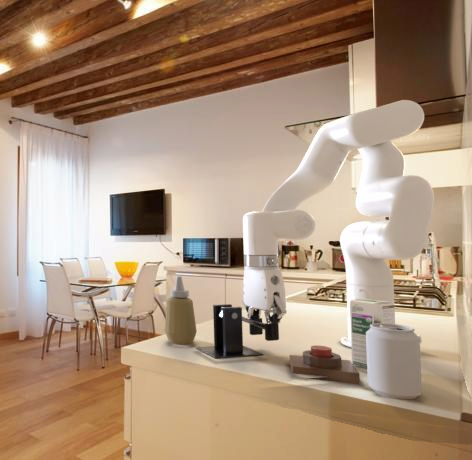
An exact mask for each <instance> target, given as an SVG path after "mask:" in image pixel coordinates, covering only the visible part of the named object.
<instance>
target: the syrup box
mask: <svg viewBox="0 0 472 460" xmlns="http://www.w3.org/2000/svg"><path fill="white" fill-rule="evenodd" d="M395 308H396V304H395V301H394V302H386V301H377V300H368V299H354V300H351V301H350V318H351V345H352V348H351V363H352V364H353V365H354V366H356V367H361V368H364V369H367V351H366V332H367V331H368V330H369V329H370V328H371V327H370V324H374V323H388V324H396V309H395Z"/></svg>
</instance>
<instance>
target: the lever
mask: <svg viewBox="0 0 472 460" xmlns="http://www.w3.org/2000/svg"><path fill="white" fill-rule="evenodd" d="M222 308H223V307H222V306H221V309H220V312H219V315H218V316H220V317H223V314H222ZM242 322H243V323H247V324H248V325H249V324H252V325H255V327H258V328H261V329H263V331H265V323H266V322H265V323H264V322H262V323H261V322H258V321H253V320H251V319H250V318H248V317H245V316H242Z"/></svg>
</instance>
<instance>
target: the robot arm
mask: <svg viewBox="0 0 472 460" xmlns="http://www.w3.org/2000/svg"><path fill="white" fill-rule="evenodd" d="M424 121H425V112H424V109H423V108H422V106H421V105H420V104H419V103H418V102H415V101H413V100H409V99H401V100H398V101H397V100H396V101H394V102H391V103H388V104H384V105H380V106H377V107H373V108H369V109H366V110H361V111H358V112H354V113H351V114H348V115H345V116H343V117H340V118H337V119H334V120H331V121H328V122H327V123H325V124H323V125H322V126H321V127H320V128H319V129H318V131H317V132H316V134H315V135H314V137H313V140H312V141H311V143H310V145H309V147H308V148H307V150H306V152H305V154H304V156H303V158H302V160H301V162H300V163H299V165H298V166H297V169H296V170H295V171H294V172H293V173H292V174H291V175H290V176H289V177H288V178H286V180H285V181H284V182H283V183H282V184H280V186H279V187H278V188H276V190H275V191H274V192H272V194H271V195H270V197H269V198H268V199H267V201H266V202H265V205H264V206H263V208H262V210H261V211H250V212H247V213H245V214H243V217H242V236H243V237H242V238H243V242H242V243H243V265H244V269H243V270H244V271H243V283H242V296H243V297H242V298H243V299H242V301H241V304H242V306H243V307H244V308H245V311H246V313H247V318H248V319H251V320H253V321H258V322H261V323H263V318H262V317H261V315H262V311H263V312H264V318H265V330H264V329H261V328H258V327H255V325H252V324H249V323H248V326H249V329H248V330H249V335H250V336H260V335H263V333H264V339H265V341H267V342H268V341H269V342H272V341H279V340H280V330H279V329H280V327H279V324H281V320H282V318H283V317H284V316H285V315H286V314H287V298H286V290H285V282H284V276H283V273H282V269H281V268H280V266H279V265H280V262H279V261H280V260H279V241H280V242H283V241H284V242H297V241H303V240H305V239H308V238H309V237H311V236H312V235H313V233H314V232H315V230H316V226H317V225H316V220H315V218H314V216H313V215H312V214H311V213H309V212H308V211H305V210H301V209H297V208H298V207H300V205H301V204H303V202H305V201H307V200H308V199H310V198H312V197H313V196H316V195H317V194H320V193H322V192H323V191H324V190H325V189H327V188H329V187H330V186H331V185H333V183H334V182H335V180H336V178H337V176H338V174H339V172H340V170H341V169H342V166H343V165H344V163H345V162H346V159H347V157H348V155H349V154H350V153H351V152H352V151H355V150H357V151H358V153H359V155H360V156H361V159H362V169H361V174H360V178H359V183H358V187H357V192H356V196H355V209H356V211H357V212H358V213H359V214H360V215H362V216H365V217H369V218H385V217H386V218H387V217H389V218H388V219H383V220H381V219H377V220H362V221H356V222H352V223H350V224H348V225H347V226H346V227H345V228H344V229H342V231H341V233H340V236H339V244H340V249H341V253H342V256H343V260H344V266H345V285H346V287H345V289H346V312H347V313H346V315H347V336H342V337H341V338H340V343H341V344H342V345H343V346H345V347H348V348H351V349H352V345H351V318H350V301H351V300H354V299H368V300H377V301H386V302H394V303H395V286H394V285H395V283H394V282H395V281H394V275H393V272H392V270H391V267H390V266H389V263H388V262H387V261H408V260H409V261H410V260H413V259H415V258H416V257H418V256H419V255H420V254H421V253H422V251H423V250H424V248H425V246H426V242H427V239H428V238H427V237H428V234H429V229H430V224H431V221H432V220H431V219H432V216H433V211H434V204H435V193H434V189H433V187H432V184H431V183H430V182H429V180H427V179H425V178H424V177H422V176H420V175H415V174H406V175H405V167H406V160H405V156H404V154H403V153H402V151H401V150H400V149H399V148H398V147H397V146H396V145H395V144H394V143H393V142H392V141H393V140H398V139H401V138H405V137H408V136H411V135H413V134H415V133H416V132H417V131H419V129H421V127H422V126H423V123H424ZM263 331H264V332H263ZM416 335H417V336H418V337H419V338H420V344H422V336H421V334H416Z"/></svg>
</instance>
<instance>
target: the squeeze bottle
mask: <svg viewBox="0 0 472 460" xmlns="http://www.w3.org/2000/svg"><path fill="white" fill-rule="evenodd" d="M169 291H170V292H169V293H170V294H169V295H170V297H169V298H168V299H166V307H165V308H166V310H165V322H164V332H165V335H166V338H167V341H168V343H171V344H174V345H191V344H193V343H194V342H195V338H196V335H197V325H196V317H195V309H194V302H193V301H194V300H193V299H192V298H190V291H189V290H188V289H185V286H184V281H183V277H182V276H176V279H175V283H174V288H173V289H170V290H169Z"/></svg>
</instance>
